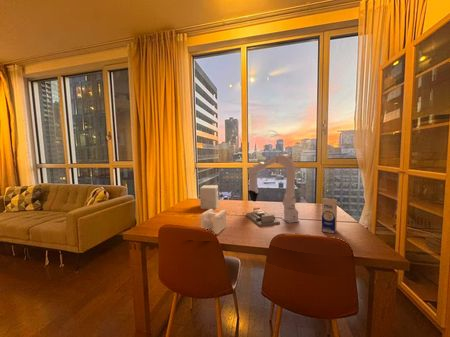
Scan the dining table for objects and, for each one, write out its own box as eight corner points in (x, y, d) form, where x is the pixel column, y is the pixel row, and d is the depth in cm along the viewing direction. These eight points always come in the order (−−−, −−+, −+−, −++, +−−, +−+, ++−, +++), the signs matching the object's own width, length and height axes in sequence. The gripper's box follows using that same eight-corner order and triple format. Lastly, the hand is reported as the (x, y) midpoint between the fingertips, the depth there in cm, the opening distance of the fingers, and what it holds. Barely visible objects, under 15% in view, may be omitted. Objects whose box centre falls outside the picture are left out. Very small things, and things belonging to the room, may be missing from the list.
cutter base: (279, 223, 135) (279, 215, 135) (259, 226, 132) (259, 218, 131) (263, 213, 158) (263, 205, 158) (246, 215, 155) (245, 207, 154)
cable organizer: (212, 225, 137) (211, 207, 136) (227, 227, 133) (227, 209, 131) (200, 234, 123) (200, 214, 122) (217, 236, 119) (216, 216, 118)
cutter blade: (265, 216, 146) (265, 211, 145) (258, 217, 144) (258, 211, 144) (259, 212, 154) (259, 207, 154) (253, 213, 153) (253, 208, 153)
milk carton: (321, 231, 122) (321, 197, 119) (323, 227, 127) (323, 194, 124) (335, 234, 118) (335, 199, 115) (336, 229, 123) (337, 196, 120)
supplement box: (219, 204, 185) (218, 185, 183) (216, 209, 172) (215, 187, 170) (204, 204, 187) (203, 185, 185) (200, 208, 174) (199, 187, 172)
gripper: (244, 181, 163) (245, 199, 164) (251, 184, 149) (252, 203, 150) (253, 181, 165) (253, 198, 166) (261, 184, 151) (261, 202, 152)
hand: (253, 200), depth 158 cm, fingers open, 3 cm apart
